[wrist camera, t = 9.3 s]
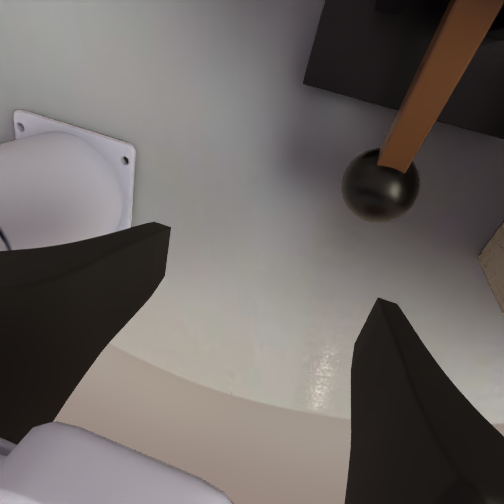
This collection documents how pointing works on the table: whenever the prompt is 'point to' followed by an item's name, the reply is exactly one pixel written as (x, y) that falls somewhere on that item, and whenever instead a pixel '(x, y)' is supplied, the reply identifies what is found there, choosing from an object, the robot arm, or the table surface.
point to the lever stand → (404, 59)
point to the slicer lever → (417, 115)
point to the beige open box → (495, 265)
